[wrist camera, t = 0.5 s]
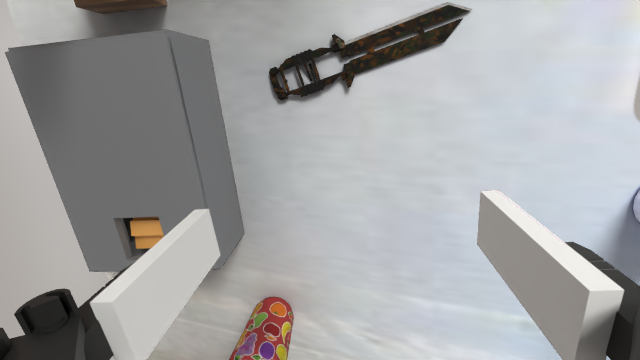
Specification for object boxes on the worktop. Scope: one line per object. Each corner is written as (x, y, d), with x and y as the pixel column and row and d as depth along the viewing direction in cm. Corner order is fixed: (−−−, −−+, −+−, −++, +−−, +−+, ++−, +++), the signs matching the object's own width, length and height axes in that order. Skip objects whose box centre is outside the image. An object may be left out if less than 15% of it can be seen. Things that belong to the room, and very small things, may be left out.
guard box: (82, 54, 41) (2, 47, 31) (208, 40, 39) (162, 28, 29) (139, 236, 50) (90, 274, 40) (244, 233, 48) (218, 271, 38)
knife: (468, -3, 35) (472, -7, 34) (473, 55, 37) (477, 54, 36) (265, 55, 39) (262, 54, 38) (279, 105, 41) (277, 106, 40)
